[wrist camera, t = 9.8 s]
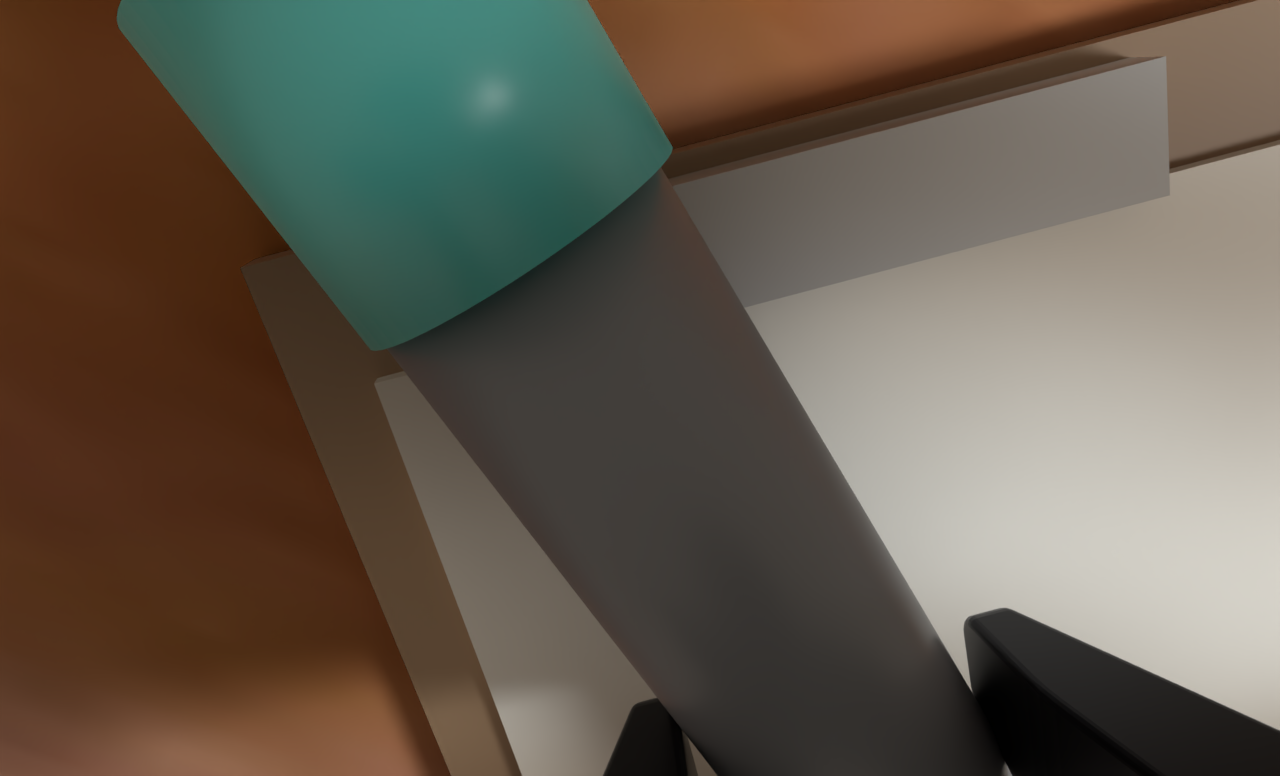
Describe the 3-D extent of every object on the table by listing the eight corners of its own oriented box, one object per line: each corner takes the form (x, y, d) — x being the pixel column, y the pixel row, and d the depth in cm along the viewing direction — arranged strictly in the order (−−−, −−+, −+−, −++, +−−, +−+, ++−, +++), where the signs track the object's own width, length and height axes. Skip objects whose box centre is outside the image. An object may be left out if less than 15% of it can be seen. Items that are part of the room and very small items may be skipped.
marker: (1100, 983, 12) (1302, 1150, 10) (980, 1138, 12) (1169, 1356, 9) (429, -92, 7) (521, -277, 5) (141, 74, 6) (81, -47, 4)
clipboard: (1389, 1038, 14) (1444, 1100, 13) (654, 1238, 14) (660, 1314, 13) (1490, -67, 8) (1599, -83, 7) (254, 259, 8) (220, 280, 7)
